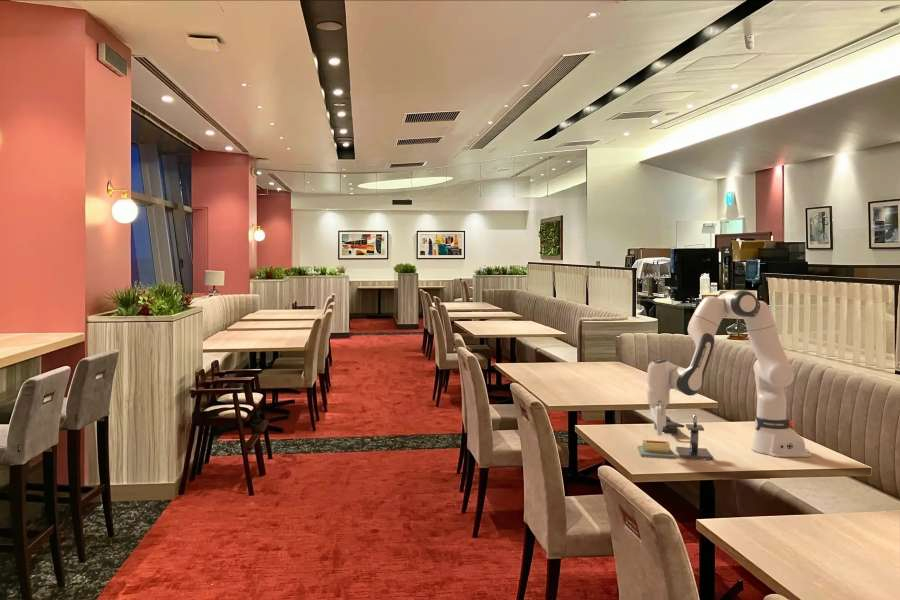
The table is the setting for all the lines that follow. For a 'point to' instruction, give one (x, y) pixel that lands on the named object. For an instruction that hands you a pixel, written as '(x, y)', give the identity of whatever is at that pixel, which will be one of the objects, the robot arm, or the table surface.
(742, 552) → the table surface
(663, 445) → the wooden rectangular frame
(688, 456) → the pin stand
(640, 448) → the rubber mat
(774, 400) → the robot arm
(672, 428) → the zipper pull
